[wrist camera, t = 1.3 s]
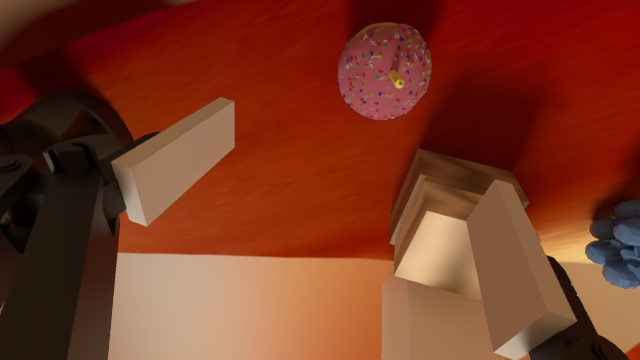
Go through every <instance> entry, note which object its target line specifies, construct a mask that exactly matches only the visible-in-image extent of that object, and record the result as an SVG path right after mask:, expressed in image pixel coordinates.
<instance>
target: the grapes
mask: <svg viewBox="0 0 640 360" xmlns="http://www.w3.org/2000/svg"><path fill="white" fill-rule="evenodd" d="M613 215H614V216H615V218H616V219H612V218H602V219H597V220H595V221H593V222H592V223H591V225H590V233H591V234H592V236H593V237H595V238H596V239H598V241H593V242H591V243H589V244H588V245H587V246H586V249H585V254H586V255H587V257H588V259H590V260H591V261H593V262H594V263H598V264H602V265H604V266H603V271H602V274H603V276H604V278H605V279H606V280H607V281H608V282H610V283H611V284H612V285H615V286H618V287H621V288H625V289H628V288H636V287H637V286H639V285H640V201H639V200H628V201H622V202H620V203H618V204H617V205H616V206H615V207H614V211H613Z"/></svg>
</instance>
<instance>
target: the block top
mask: <svg viewBox="0 0 640 360" xmlns="http://www.w3.org/2000/svg"><path fill="white" fill-rule="evenodd" d="M482 197H483V195H479V194H475V193H471V192H467V191H463V190H459V189H456V188H452V187H448V186H444V185H440V184H436V183H432V182H429V181H425V180H424V181H423V184H422V186H421V188H420V190H419V192H418V194H417V196H416V199H415V201H414V203H413V205H412V207H411V209H410V211H409V214H408V216H407V218H406V220H405V222H404V224H403V226H402V229H401V231H400V233H399V235H398V237H397V239H396V241H395V255H394V276H397V277H401V278H404V279H407V280H411V281H414V282H418V283H421V284H424V285H428V286H431V287H435V288H438V289H441V290H445V291H448V292H451V293H455V294H458V295H462V296H465V297H468V298H472V299H475V300H478V301H482V302H483V300H482V295H481V291H480V286H479V281H478V276H477V271H476V267H475V262H474V257H473V252H472V248H471V243H470V238H469V233H468V228H467V224H466V220H467V218H468V217H469V215H470V214H471V213H472V211H473V210H474V208H475V207H476V205H477V204H478V203H479V201H480V200H481V198H482ZM528 219H529V218H528ZM529 221H530V220H529ZM530 223H531V222H530ZM531 225H532V224H531ZM532 227H533V225H532ZM533 229H534V227H533ZM534 231H535V229H534ZM535 233H536V231H535ZM536 235H537V233H536ZM537 238H538V240H539V242H541V241H540V239H539V237H538V235H537Z"/></svg>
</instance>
